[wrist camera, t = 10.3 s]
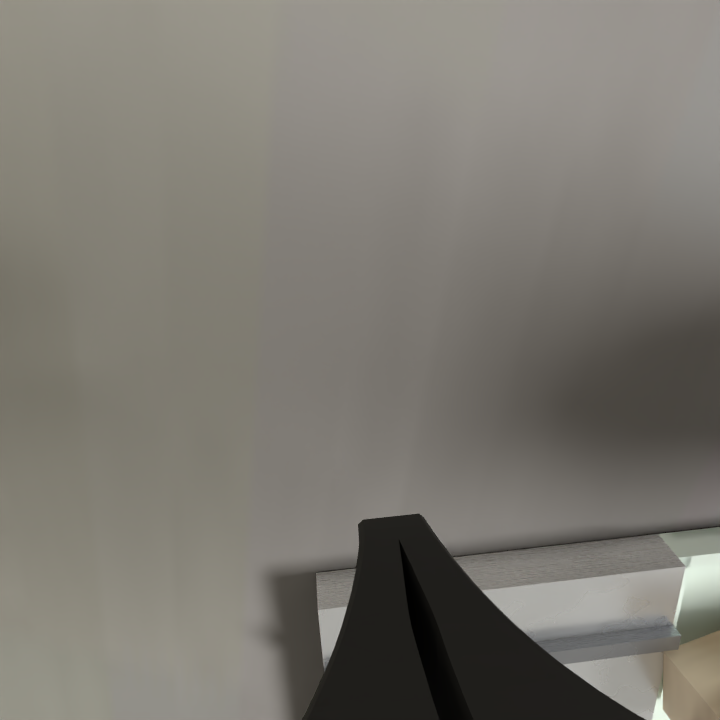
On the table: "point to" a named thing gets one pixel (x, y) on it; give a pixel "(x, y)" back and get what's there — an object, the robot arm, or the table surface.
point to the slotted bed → (570, 608)
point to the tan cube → (693, 680)
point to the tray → (695, 589)
